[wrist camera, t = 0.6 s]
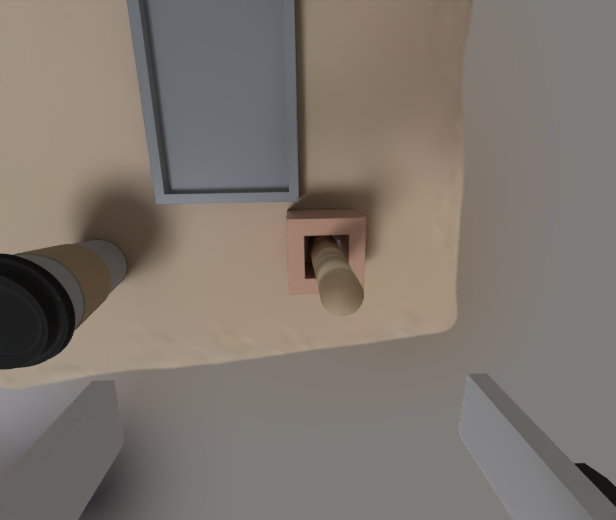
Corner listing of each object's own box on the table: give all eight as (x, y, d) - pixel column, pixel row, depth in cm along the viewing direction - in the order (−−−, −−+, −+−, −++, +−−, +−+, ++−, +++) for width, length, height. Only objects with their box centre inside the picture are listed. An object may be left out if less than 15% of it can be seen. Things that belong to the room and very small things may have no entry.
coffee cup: (41, 246, 37) (-113, 296, 23) (113, 209, 37) (-1, 238, 22) (92, 313, 40) (-18, 397, 26) (159, 280, 39) (85, 347, 25)
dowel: (308, 230, 38) (320, 276, 22) (334, 230, 38) (364, 274, 22) (308, 256, 38) (320, 316, 23) (333, 255, 39) (363, 315, 23)
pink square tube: (287, 209, 38) (286, 219, 31) (352, 208, 38) (366, 217, 31) (289, 272, 40) (289, 294, 33) (351, 270, 40) (363, 291, 34)
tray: (132, -37, 31) (119, -53, 28) (292, -34, 31) (293, -50, 29) (164, 201, 37) (155, 204, 35) (298, 199, 38) (298, 201, 35)
